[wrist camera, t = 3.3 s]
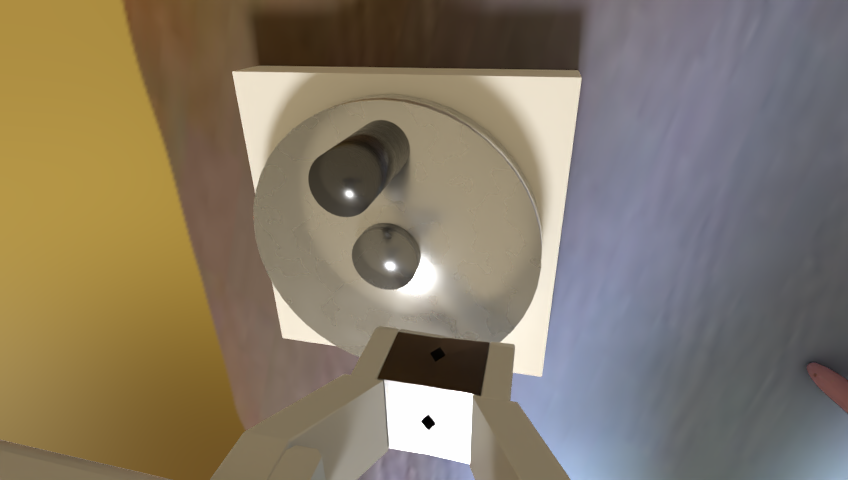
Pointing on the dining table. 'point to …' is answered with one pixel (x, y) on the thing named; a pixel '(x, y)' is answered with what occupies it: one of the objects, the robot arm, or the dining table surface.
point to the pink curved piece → (830, 383)
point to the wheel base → (466, 93)
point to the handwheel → (398, 223)
